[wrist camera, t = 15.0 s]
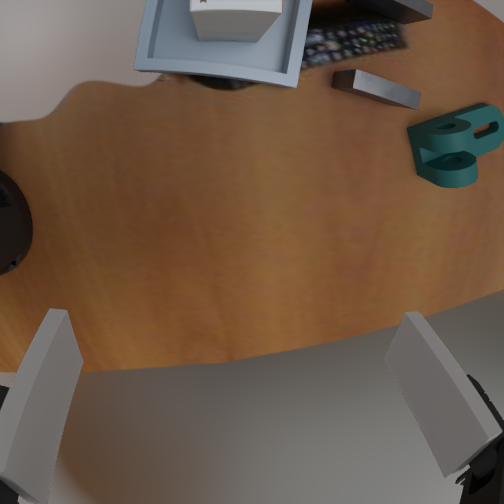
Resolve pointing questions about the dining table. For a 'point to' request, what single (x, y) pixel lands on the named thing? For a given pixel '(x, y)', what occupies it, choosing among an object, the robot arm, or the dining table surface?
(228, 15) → the small box
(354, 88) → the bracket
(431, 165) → the bracket
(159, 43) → the tray
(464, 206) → the dining table surface
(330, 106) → the dining table surface
